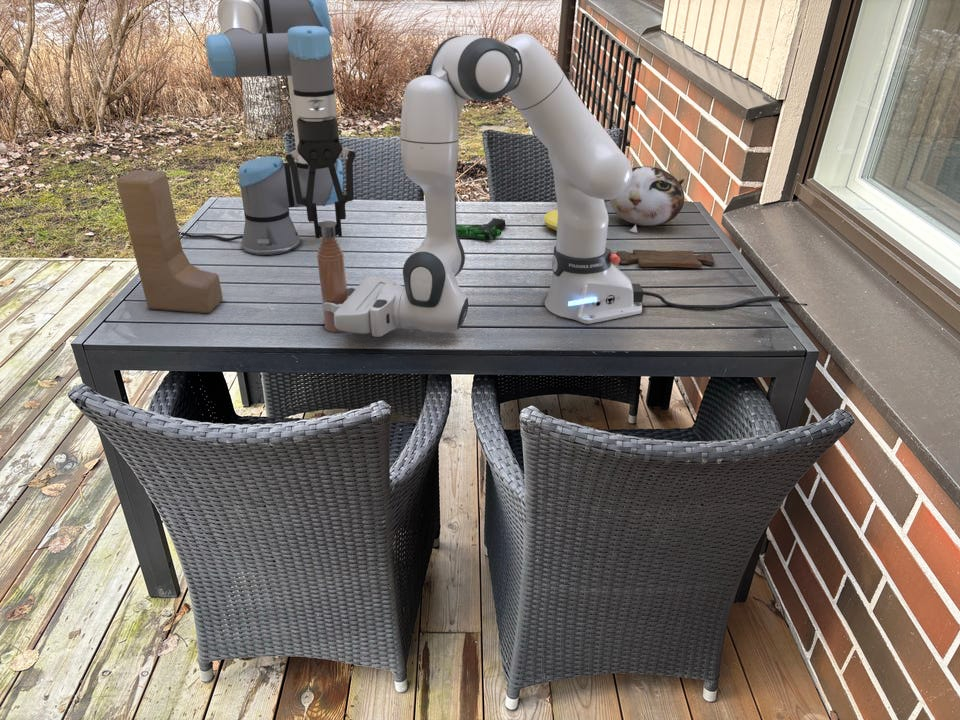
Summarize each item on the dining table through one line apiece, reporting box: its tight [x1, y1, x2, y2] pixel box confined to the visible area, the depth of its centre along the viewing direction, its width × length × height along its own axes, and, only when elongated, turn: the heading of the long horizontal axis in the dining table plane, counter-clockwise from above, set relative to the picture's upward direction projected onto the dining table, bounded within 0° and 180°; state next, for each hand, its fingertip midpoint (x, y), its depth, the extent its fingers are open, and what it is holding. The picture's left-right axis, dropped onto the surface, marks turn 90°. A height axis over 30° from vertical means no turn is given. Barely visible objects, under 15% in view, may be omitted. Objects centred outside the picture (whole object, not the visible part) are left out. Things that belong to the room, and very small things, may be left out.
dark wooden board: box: [615, 249, 715, 269], centre depth 190 cm, size 26×2×10 cm
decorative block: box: [116, 169, 224, 314], centre depth 157 cm, size 8×15×30 cm, turn 82°
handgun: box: [457, 217, 506, 242], centre depth 207 cm, size 16×3×15 cm
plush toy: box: [609, 165, 685, 233], centre depth 210 cm, size 22×18×20 cm
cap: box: [318, 220, 338, 238], centre depth 146 cm, size 4×4×2 cm
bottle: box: [316, 236, 349, 333], centre depth 151 cm, size 6×6×23 cm
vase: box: [543, 209, 558, 232], centre depth 209 cm, size 16×16×7 cm
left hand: (328, 234), depth 146 cm, fingers closed on cap, 4 cm apart
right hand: (330, 298), depth 154 cm, fingers closed on bottle, 5 cm apart
